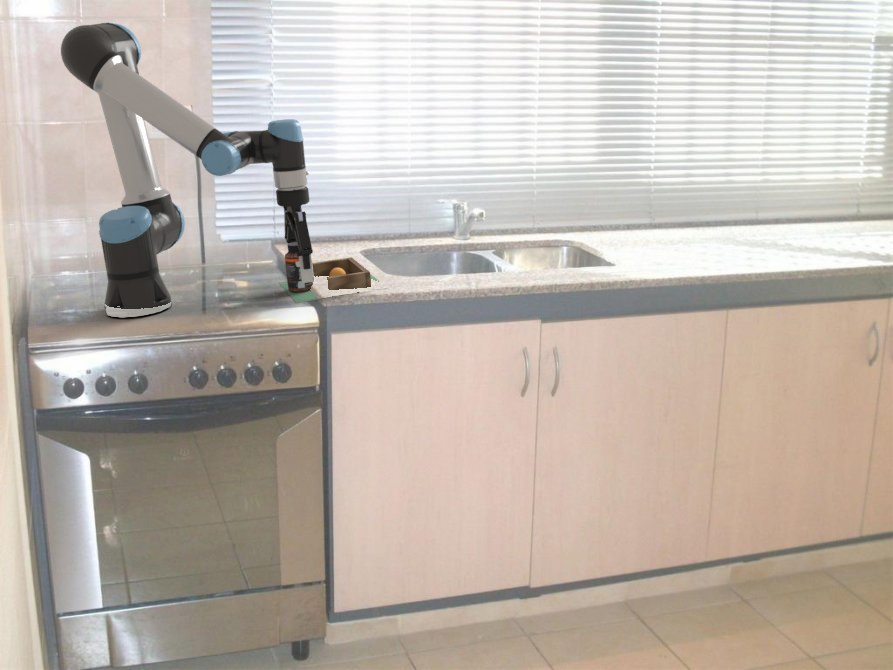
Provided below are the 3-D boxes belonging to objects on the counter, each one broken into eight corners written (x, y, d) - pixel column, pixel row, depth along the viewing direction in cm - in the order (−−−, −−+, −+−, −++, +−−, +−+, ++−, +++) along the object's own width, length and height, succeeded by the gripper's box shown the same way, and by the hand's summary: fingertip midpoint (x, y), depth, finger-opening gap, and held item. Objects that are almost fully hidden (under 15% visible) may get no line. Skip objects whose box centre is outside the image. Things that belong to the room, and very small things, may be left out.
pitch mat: (296, 304, 256) (296, 302, 255) (279, 284, 275) (279, 282, 275) (388, 289, 262) (388, 287, 262) (365, 271, 281) (365, 269, 281)
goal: (330, 294, 260) (328, 278, 259) (313, 278, 276) (312, 263, 275) (371, 288, 263) (369, 272, 262) (353, 272, 279) (351, 257, 278)
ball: (351, 278, 268) (337, 287, 267) (347, 277, 271) (333, 287, 271) (341, 264, 267) (328, 273, 266) (337, 264, 270) (324, 273, 270)
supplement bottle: (308, 292, 263) (303, 246, 260) (284, 293, 264) (279, 246, 261) (316, 286, 269) (311, 240, 265) (293, 286, 270) (287, 240, 267)
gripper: (319, 193, 249) (329, 284, 255) (296, 178, 272) (306, 263, 278) (286, 197, 247) (296, 289, 253) (266, 182, 270) (276, 267, 276)
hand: (301, 276), depth 266 cm, fingers open, 13 cm apart
